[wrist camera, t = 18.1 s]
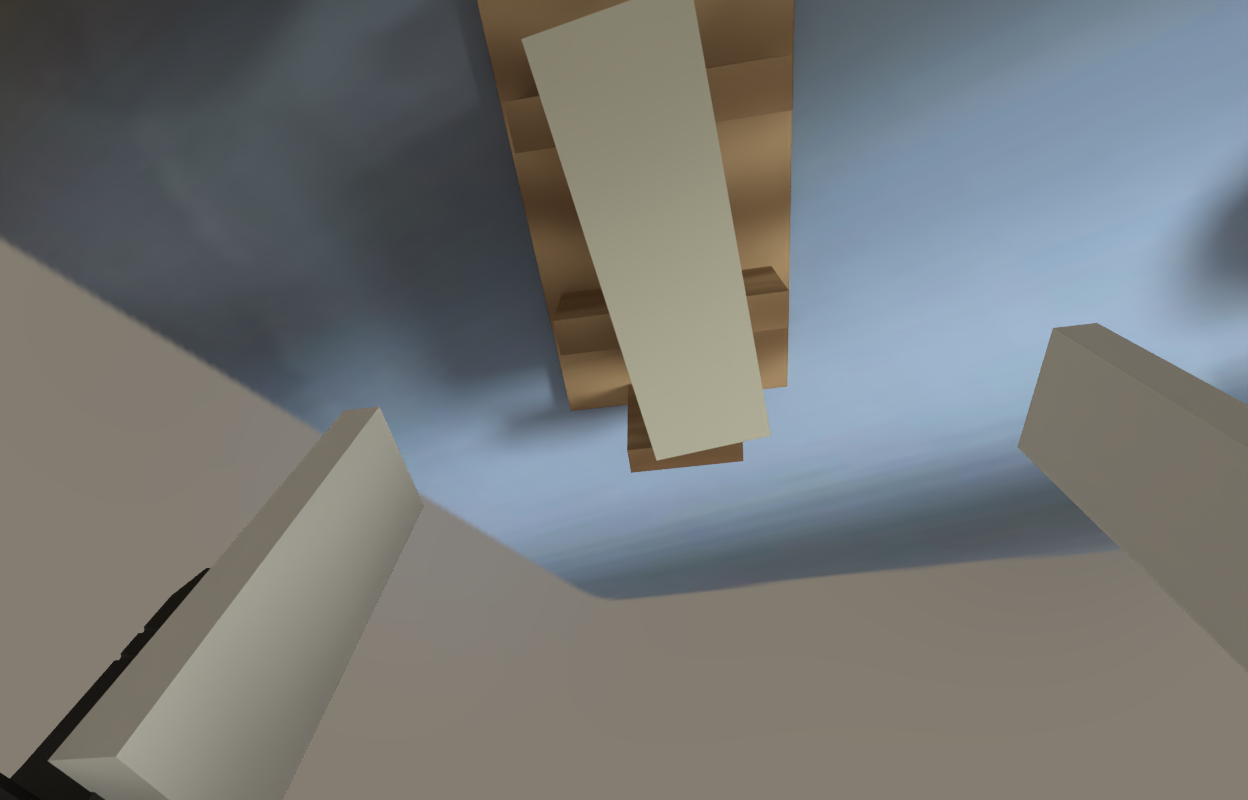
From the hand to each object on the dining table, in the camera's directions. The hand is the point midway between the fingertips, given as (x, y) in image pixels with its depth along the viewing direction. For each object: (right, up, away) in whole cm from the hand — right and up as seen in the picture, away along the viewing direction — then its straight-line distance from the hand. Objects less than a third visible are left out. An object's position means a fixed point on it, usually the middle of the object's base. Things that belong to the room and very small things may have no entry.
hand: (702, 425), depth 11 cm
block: (0, +9, +14) cm, 17 cm away
